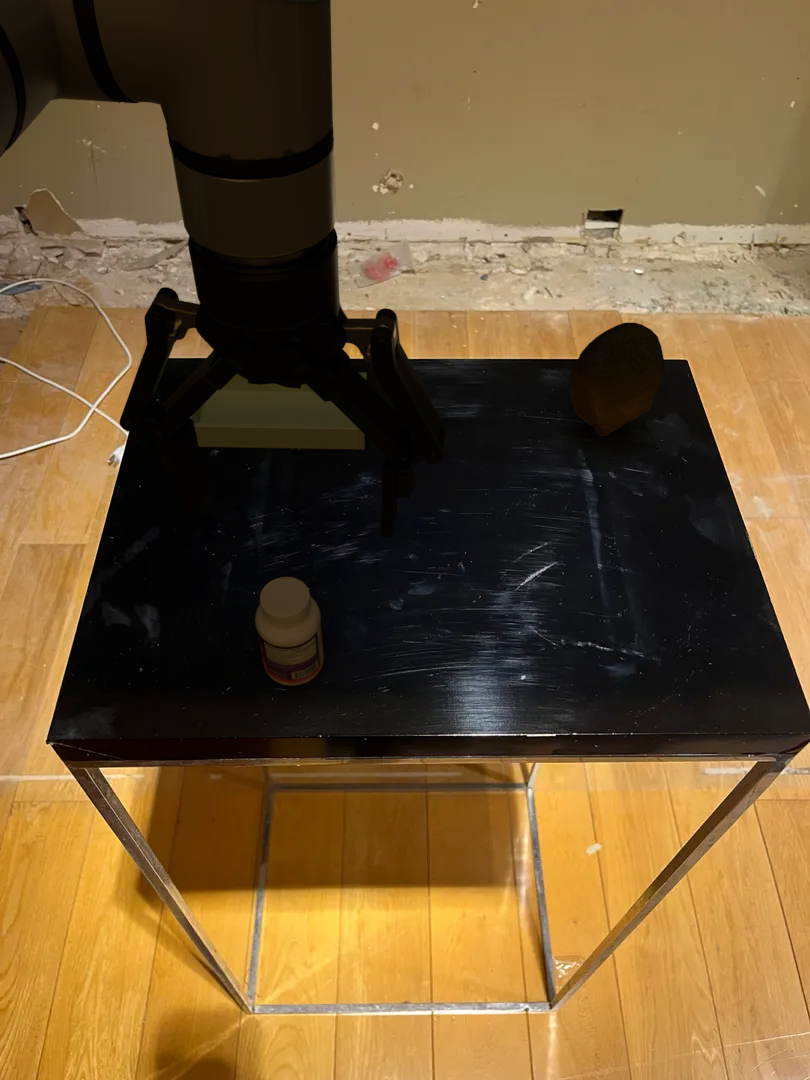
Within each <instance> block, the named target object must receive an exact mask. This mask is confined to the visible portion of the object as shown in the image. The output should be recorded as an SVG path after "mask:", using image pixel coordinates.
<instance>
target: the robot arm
mask: <svg viewBox="0 0 810 1080" xmlns="http://www.w3.org/2000/svg"><path fill="white" fill-rule="evenodd" d="M331 1H332V0H0V158H2V156H3V155H4V154H5V153H6V151H8V150H10V148H11V147H12V146H13V145H14V144H15V143H16V142H17V141H18V140H19V138H20V137H21V136H22V135H23V133H24V132H25V131H26V130H28V128H29V127H30V125H31V124H32V123H33V122H34V121H35V120H36V118H37V117H38V116H39V115H40V114H41V113H42V112H43V111H44V109H45V108H46V106H48V104H49V103H50V102H51V101H56V100H70V101H71V100H72V101H74V100H75V101H90V102H110V103H119V104H121V103H123V104H139V103H151V104H155V105H160V108H161V112H162V115H163V117H164V122H165V125H166V128H165V129H166V133H167V139H168V145H169V148H170V151H171V157H172V163H173V169H174V175H175V182H176V186H177V193H178V199H179V204H180V211H181V217H182V223H183V227H184V229H185V231H186V233H187V235H188V238H187V239H188V240H187V247H188V252H189V258H190V263H191V264H190V265H191V270H192V275H193V279H194V286H195V290H196V296H197V300H198V302H199V303H195V302H192V301H191V302H190V301H185V300H180V298H179V297H180V296H179V294H178V293H177V292H176V291H175V290H174V289H173V288H171V287H168V286H163V287H161V288H159V290H157V293H156V295H155V296H154V298H153V299H152V302H151V304H150V306H149V307H148V308H147V311H146V313H145V315H144V318H143V320H144V321H143V322H144V330H145V336H146V337H145V339H146V346H145V348H144V350H143V351H144V352H143V354H142V357H141V360H140V362H139V365H138V368H137V371H136V373H135V377H134V379H133V381H132V384H131V388H130V391H129V393H128V396H127V399H126V401H125V404H124V406H123V409H122V413H121V415H120V418H119V423H118V424H119V426H120V427H121V428H122V429H123V430H124V431H126V432H129V433H135V432H137V431H138V430H140V431H143V432H146V433H148V434H149V436H150V437H151V439H152V440H154V441H155V445H156V449H157V453H158V456H159V459H160V463H161V467H162V469H163V470H164V471H165V472H166V473H169V474H175V475H176V479H177V482H178V487H179V491H180V495H181V498H182V503H183V506H184V510H185V514H186V515H187V516H194V517H195V516H196V517H197V516H198V515H199V512H200V510H201V507H202V504H203V502H204V499H205V496H206V494H207V491H208V489H209V487H208V483H207V478H206V473H205V468H204V464H203V459H202V455H201V450H200V447H199V445H198V440H197V436H196V431H195V427H194V422H193V419H189V418H190V417H191V416H192V415H193V414H194V413H195V412H196V411H197V410H198V409H199V408H200V407H201V406H202V405H203V404H204V403H205V402H206V401H207V400H208V399H209V398H210V397H211V396H212V395H213V394H214V393H215V392H216V391H217V390H219V391H220V390H221V389H222V388H223V387H224V386H225V385H226V384H227V383H228V382H229V381H230V380H231V379H232V378H233V377H234V376H235V375H236V374H238V375H240V376H241V377H243V378H245V379H248V383H249V384H258V385H263V384H272V383H274V384H278V385H281V386H284V387H288V388H297V389H301V386H302V385H304V384H307V385H308V386H309V387H310V388H311V389H312V390H313V391H314V392H315V393H316V394H317V395H318V396H319V397H320V398H321V399H322V400H323V401H326V402H327V401H331V402H332V403H333V404H334V405H335V406H336V407H337V408H338V409H339V410H340V411H341V412H342V413H343V414H344V415H345V416H346V417H348V418H349V419H350V420H351V421H352V422H353V423H354V424H355V425H356V426H357V427H358V428H359V429H360V430H361V431H362V432H363V433H364V434H365V437H366V438H367V439H369V440H370V442H372V443H373V444H374V445H375V446H376V448H378V449H379V450H380V451H381V452H382V454H384V457H383V463H382V467H381V468H382V469H381V522H380V525H381V526H380V527H381V529H380V537H382V538H391V539H392V538H393V535H394V529H395V523H396V518H397V511H398V498H401V499H410V498H411V496H412V495H413V491H414V485H415V479H416V464H418V463H419V462H422V461H424V462H426V463H427V464H431V465H437V464H440V463H442V462H443V459H444V453H445V447H446V446H445V445H446V437H447V428H446V426H445V425H444V422H443V421H442V419H441V417H440V415H439V413H438V411H437V410H436V407H435V406H434V404H433V402H432V400H431V398H430V396H429V394H428V393H427V391H426V389H425V387H424V385H423V383H422V382H421V380H420V379H421V378H419V376H418V374H417V372H416V370H415V368H414V366H413V365H412V363H411V361H410V359H409V357H408V355H407V353H406V351H405V349H404V347H403V346H402V344H401V341H400V331H399V330H400V329H399V321H398V316H397V313H396V312H395V311H394V310H392V309H391V308H386V307H384V308H380V309H379V310H378V311H377V312H376V314H375V317H374V318H368V317H367V318H366V317H365V318H361V317H360V318H357V317H356V318H353V317H352V318H351V317H350V318H348V316H347V314H346V313H345V311H344V309H343V308H342V305H341V299H340V272H339V271H340V270H339V245H338V233H337V230H336V228H335V225H336V222H337V218H338V213H337V186H336V185H337V184H336V159H335V158H336V156H335V138H334V115H333V114H334V111H333V109H334V106H333V105H334V104H333V62H332V61H333V55H332V11H331V10H332V6H331V5H332V4H331V3H332V2H331ZM191 329H196V332H197V333H198V336H200V337H201V339H202V340H203V341H204V342H206V344H207V345H208V346H209V347H210V348H211V349H212V351H211V352H210V353H209V355H207V357H206V358H205V359H204V360H203V361H202V362H200V364H199V365H198V366H197V367H196V369H195V370H194V371H193V372H192V373H190V375H189V376H188V377H187V378H186V380H184V382H183V383H181V385H180V386H179V387H177V389H176V390H175V391H174V392H173V393H172V394H171V396H169V397H168V398H167V397H165V399H164V401H163V403H162V405H159V404H156V403H154V402H152V401H153V398H154V396H155V393H156V391H157V389H158V386H159V383H160V381H161V378H162V376H163V373H164V371H165V368H166V365H167V363H168V360H169V359H170V355H171V353H172V350H173V348H174V345H175V343H176V342H177V341H180V340H183V339H184V338H185V337H186V335H187V334H188V331H189V330H191ZM346 344H350V345H354V346H355V347H356V348H357V350H358V351H359V353H360V354H361V356H362V359H363V361H364V362H365V363H372V367H373V370H374V373H375V376H376V378H377V380H378V382H379V383H380V385H381V387H382V390H383V391H384V392H385V394H386V396H387V398H388V399H389V401H390V403H391V404H390V403H389V402H388V401H387V400H386V399H385V398H384V397H383V396H382V395H381V394H380V393H379V392H378V390H376V388H374V387H373V386H372V384H370V382H369V381H368V380H367V381H366V379H365V378H364V377H363V376H362V375H361V374H360V373H359V372H360V371H358V370H357V369H356V368H355V367H354V365H353V363H352V359H351V357H350V355H349V354H348V353H347V352H346V350H344V348H345V346H346ZM392 406H393V407H392Z"/></svg>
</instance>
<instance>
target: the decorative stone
mask: <svg viewBox="0 0 810 1080" xmlns="http://www.w3.org/2000/svg"><path fill="white" fill-rule="evenodd" d="M665 370H666V364H665V358H664V353H663V347H662V345H661V342H660V339H659V336H658V335H657V334H656V333H655V332H654V331H653V330H652V329H651V328H649V327H647V326H646V325H643V323H637V322H622V323H619V324H616V325H615V326H613V327H611V328H608V329H607V330H604V331H602V333H600V334H599V335H598V336H596V337H595V338H593V339H592V340H591V341H590V342H589V343H588V344H586V346H585V347H584V348H583V350H582V351H581V352H580V354H579V356H578V358H577V360H576V361H575V363H574V366H573V368H572V371H571V372H570V374H569V378H568V382H569V388H568V389H569V399H570V400H571V402H572V404H573V408H572V410H573V412H574V413H575V414H576V415H577V416H578V417H579V418H580V419H581V420H582V421H583V422H584V423H586V424H587V425H590V426H592V427H593V429H594V432H595V434H596V435H597V436H599V437H606V436H609V435H610V434H611V433H613V432H615V431H617V430H618V429H620V428H622V427H624V426H625V425H626V424H628V423H630V422H632V421H634V420H635V419H637V418H639V417H640V416H642V415H643V414H645V413H647V411H649V410H650V409H651V406H652V405H653V400H654V398H655V395H656V393H657V391H658V389H659V387H660V384H661V383H662V381H663V379H664V377H665V373H666V372H665Z"/></svg>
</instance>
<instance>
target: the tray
mask: <svg viewBox="0 0 810 1080" xmlns="http://www.w3.org/2000/svg"><path fill="white" fill-rule="evenodd" d="M358 372H359V373H360V374H361V375H362V376H363V377H364V378H365V379H366V381H367V382H368V380H367V372H364V371H363V372H360V371H358ZM189 419H193V422H194V427H195V431H196V436H197V440H198V445H199V448H245V449H246V448H247V449H250V448H252V449H301V450H303V449H305V450H306V449H310V450H357V451H358V450H364V451H365V450H366V448H365V447H366V435H365V434H364V433H363V432H362V431H361V430H360V429H359V428H358V427H357V426H356V425H355V424H354V423H353V422H352V421H351V420H350V419H349V418H348V417H346V416H345V415H344V414H343V413H342V412H341V411H340V410H339V409H338V408H337V407H336V406H335V405H334V404H333V403H332V402H331V401H327V402H326V401H323V400H322V399H321V398H320V397H319V396H318V395H317V394H316V393H315V392H314V391H313V390H312V389H311V388H310V387H309V386H308V385H307V384H304V385H302V386H301V389H297V388H288V387H284V386H281V385H278V384H274V383H272V384H263V385H258V384H249V383H248V379H245V378H243V377H241V376H240V375H238V374H236V375H235V376H234V377H233V378H232V379H231V380H230V381H229V382H228V383H227V384H226V385H225V386H224V387H223V388H222V389H221V390H220V391H219V390H217V391H216V392H215V393H214V394H213V395H212V396H211V397H210V398H209V399H208V400H207V401H206V402H205V403H204V404H203V405H202V406H201V407H200V408H199V409H198V410H197V411H196V412H195V413H194V414H193V415H192V416H191V417H190V418H189Z"/></svg>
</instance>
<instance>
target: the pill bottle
mask: <svg viewBox="0 0 810 1080" xmlns="http://www.w3.org/2000/svg"><path fill="white" fill-rule="evenodd" d="M321 615H322V614H321V609H320V607H319V605H318V603H317V602H316V600H315V599H314V598H313V597H312V596H311V593H310V590H309V587H308V586H307V585H306V584H305V582H304V581H302V580H301V579H299V578H297V577H293V576H281V577H277V578H273V579H272V580H270V581H269V582H268V583H266V584H265V585H264V587H263V588H262V589H261V592H260V595H259V605H258V607H257V609H256V612H255V616H254V622H255V623H254V624H255V630H256V633H257V638H258V644H259V648H260V653H261V658H262V659H261V660H262V664H263V668H264V670H265V672H266V674H267V675H268V677H270V678H271V679H272V680H273V681H274V682H276V683H278V684H280V685H284V686H300V685H304V684H306V683H309V682H311V681H312V680H313V679H314V678H315V677H317V675H319V673H320V672H321V670H322V668H323V666H324V661H325V648H324V647H325V646H324V639H323V638H324V637H323V626H322V616H321Z"/></svg>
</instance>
